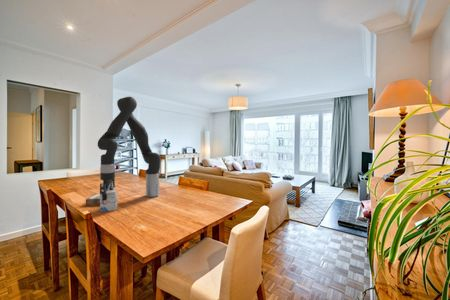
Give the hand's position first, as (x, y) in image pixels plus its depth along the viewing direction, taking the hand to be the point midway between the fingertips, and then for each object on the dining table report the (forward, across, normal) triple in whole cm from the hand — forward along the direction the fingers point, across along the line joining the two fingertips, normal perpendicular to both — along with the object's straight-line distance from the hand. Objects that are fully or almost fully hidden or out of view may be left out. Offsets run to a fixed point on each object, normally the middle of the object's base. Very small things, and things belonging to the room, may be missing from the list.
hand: (107, 197), depth 115 cm
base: (+8, +16, +11) cm, 21 cm away
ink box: (+8, 0, 0) cm, 8 cm away
